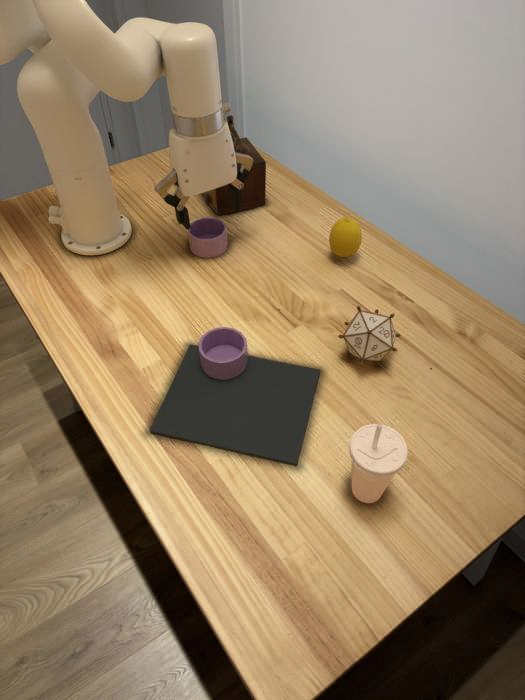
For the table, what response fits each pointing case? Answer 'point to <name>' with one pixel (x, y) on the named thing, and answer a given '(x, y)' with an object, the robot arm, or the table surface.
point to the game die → (370, 336)
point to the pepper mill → (253, 184)
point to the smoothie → (375, 460)
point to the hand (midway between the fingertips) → (210, 216)
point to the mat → (240, 408)
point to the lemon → (345, 237)
